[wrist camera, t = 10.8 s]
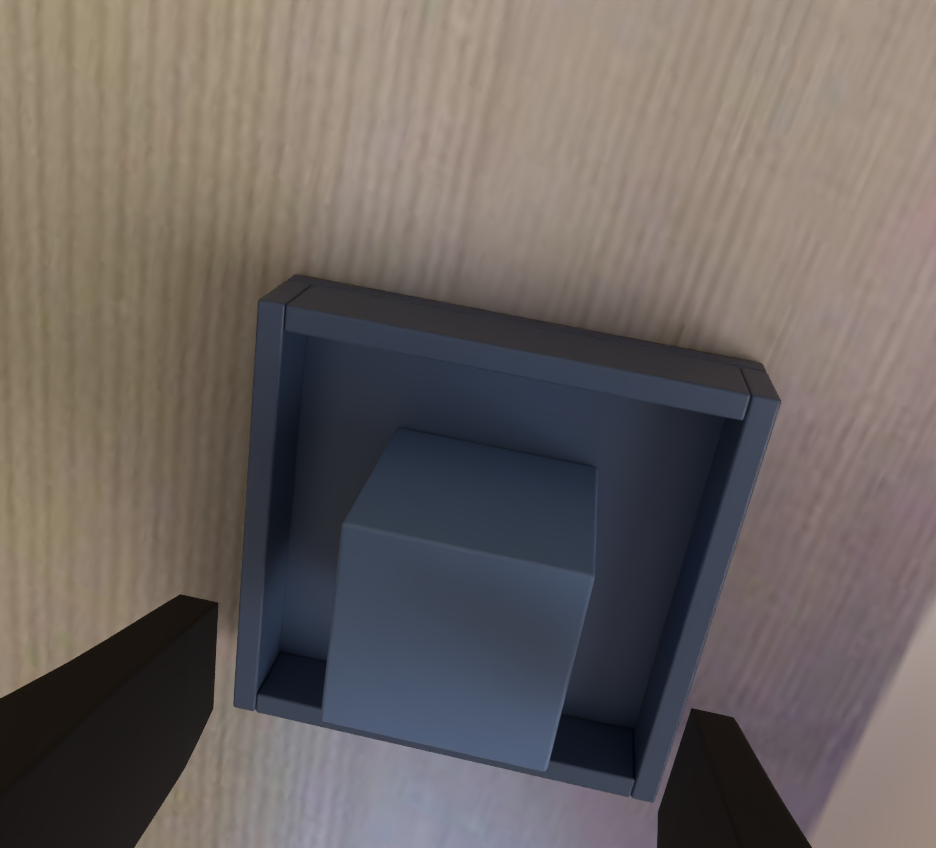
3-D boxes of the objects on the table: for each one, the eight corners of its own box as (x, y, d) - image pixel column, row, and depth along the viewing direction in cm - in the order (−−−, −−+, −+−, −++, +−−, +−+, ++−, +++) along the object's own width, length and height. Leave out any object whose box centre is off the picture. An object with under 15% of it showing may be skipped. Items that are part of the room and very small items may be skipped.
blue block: (598, 466, 17) (595, 576, 14) (558, 634, 19) (546, 774, 15) (397, 425, 18) (341, 523, 14) (374, 594, 19) (318, 722, 15)
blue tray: (763, 362, 17) (782, 400, 15) (650, 736, 20) (654, 804, 18) (294, 273, 17) (257, 298, 15) (265, 650, 21) (231, 707, 19)
